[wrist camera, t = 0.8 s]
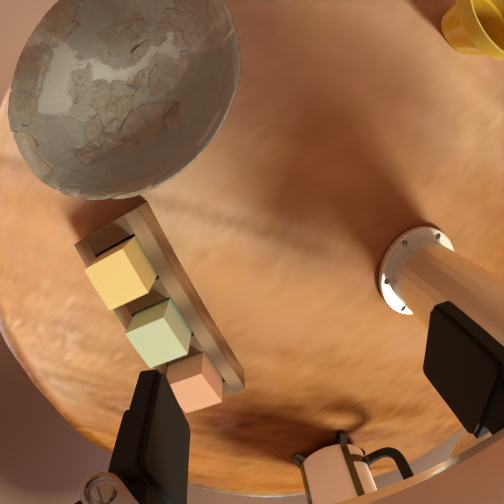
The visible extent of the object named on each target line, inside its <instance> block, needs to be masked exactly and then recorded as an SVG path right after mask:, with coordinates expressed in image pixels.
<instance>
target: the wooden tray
mask: <svg viewBox="0 0 504 504" xmlns="http://www.w3.org/2000/svg"><path fill="white" fill-rule="evenodd" d="M132 234H135V235H136V237H137V239H138V241H139V243H140V245H141V246H142V248H143V250H144V252H145V254H146V255H147V257H148V259H149V261H150V262H151V264H152V266H153V268H154V269H155V271H156V273H157V277H156V279H155V281H154V283H153V285H152V287H151V289H150V291H149V293H147V294H145V295H143V296H141V297H138V298H136V299H134V300H132V301H130V302H128V303H125V304H123V305H121V306H119V307H117V308H115V309H113V310H114V312H115V313H116V315H117V316H118V318H119V319H120V321H121V322H122V324H123V325H124V327H125V328H126V330H127V328H128V326H129V324H130V322H131V320H132V318H133V316H134V314H135V312H137V311H139V310H141V309H144V308H146V307H148V306H150V305H153V304H155V303H157V302H159V301H162V300H164V299H166V298H168V297H171V298H172V300H173V301H174V303H175V305H176V306H177V308H178V310H179V311H180V313H181V314H182V316H183V318H184V319H185V321H186V322H187V324H188V326H189V327H190V329H191V330H192V333H191V339H190V344H189V350H188V354H187V355H184V356H182V357H179V358H176V359H174V360H171V361H168V362H165V363H163V364H160V365H157V366H154V368H155V369H157V370H158V371H159V372H160V373H164V374H165V375H167V371H168V366H169V364H170V363H172V362H175V361H178V360H180V359H183V358H186V357H188V356H191V355H194V354H196V353H199V352H202V351H204V350H205V352H206V353H207V355H208V356H209V358H210V359H211V361H212V362H213V364H214V365H215V367H216V368H217V370H218V371H219V373H220V374H221V375H222V396H225V395H228V394H230V393H233V392H236V391H239V390H242V389H245V380H244V369H243V368H242V366H241V365H240V363H239V362H238V360H237V358H236V357H235V355H234V354H233V352H232V350H231V349H230V347H229V346H228V344H227V342H226V341H225V339H224V337H223V336H222V334H221V332H220V331H219V329H218V327H217V326H216V324H215V322H214V321H213V319H212V317H211V316H210V314H209V312H208V311H207V309H206V307H205V306H204V304H203V302H202V300H201V299H200V297H199V295H198V294H197V292H196V290H195V288H194V287H193V285H192V283H191V281H190V280H189V278H188V276H187V274H186V273H185V271H184V269H183V267H182V265H181V264H180V262H179V260H178V258H177V256H176V255H175V253H174V251H173V249H172V247H171V245H170V244H169V242H168V240H167V238H166V236H165V234H164V232H163V231H162V229H161V227H160V225H159V223H158V221H157V219H156V217H155V215H154V213H153V212H152V210H151V208H150V206H149V204H148V202H145V203H143V204H141V205H139V206H138V207H136V208H134V209H132V210H130V211H129V212H127V213H125V214H123V215H121V216H120V217H118V218H116V219H114V220H113V221H111V222H109V223H107V224H106V225H104V226H102V227H101V228H99V229H97V230H96V231H94V232H92V233H91V234H89V235H87V236H86V237H84V238H83V239H82V240H80V241H79V242H77V243H76V244H75V247H76V249H77V251H78V253H79V254H80V256H81V258H82V260H83V261H84V263H85V265H86V267H87V266H89V265H90V264H91V263H92V262H93V261H94V260H95V259H96V258H97V257H98V256H99V255H100V254H102V253H103V252H105V251H107V250H109V247H110V246H112V245H114V244H116V243H118V242H119V241H121V240H123V239H125V238H127V237H129V236H131V235H132Z"/></svg>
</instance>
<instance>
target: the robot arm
mask: <svg viewBox="0 0 504 504" xmlns="http://www.w3.org/2000/svg"><path fill="white" fill-rule="evenodd" d="M379 288H380V292H381V295H382V297H383V299H384V300H385V302H386V303H387V304H388V305H389V306H390V307H391V308H392V309H393V310H395V311H397V312H399V313H403V314H414V315H415V316H416V317H417V318H418V319H419V320H420V321H421V322H422V323H423V324H424V326H425V327H426V328H427V329H428V337H427V344H426V352H425V358H424V365H423V371H424V374H425V376H426V377H427V378H428V380H429V381H430V382H431V384H432V385H433V386H434V387H435V389H436V390H437V391H438V393H439V394H440V395H441V397H442V398H443V399H444V401H445V402H446V403H447V405H448V406H449V407H450V409H451V410H452V411H453V413H454V414H455V415H456V417H457V418H458V419H459V421H460V422H461V423H462V425H463V426H464V428H465V429H466V432H465V433H464V434H463V435H462V437H461V438H460V439H459V441H458V442H457V444H456V446H455V447H454V449H453V451H452V454H451V457H450V459H449V460H447V461H445V462H443V463H441V464H439V465H437V466H435V467H433V468H430V469H428V470H426V471H424V472H421V473H419V474H417V475H415V476H412V477H410V478H407V479H405V480H403V481H400V482H398V483H395V484H392V485H390V486H387V487H385V488H382V489H379V490H376V491H373V492H370V493H367V494H364V495H361V496H358V497H355V498H352V499H348V500H345V501H342V502H338V503H334V504H504V281H503V280H502V279H500V278H498V277H497V276H495V275H494V274H492V273H490V272H489V271H487V270H485V269H484V268H482V267H480V266H479V265H477V264H475V263H473V262H472V261H470V260H468V259H467V258H465V257H463V256H461V255H460V254H458V253H456V252H454V248H453V245H452V243H451V241H450V240H449V238H448V237H447V236H446V235H445V234H444V233H443V232H441V231H439V230H438V229H435V228H433V227H428V226H420V227H416V228H412V229H410V230H408V231H406V232H404V233H403V234H402V235H400V236H399V237H398V238H397V239H396V240H395V241H394V242H393V243H392V244H391V246H390V247H389V249H388V250H387V252H386V254H385V256H384V258H383V260H382V263H381V266H380V270H379ZM189 445H190V427H189V424H188V422H187V420H186V418H185V416H184V414H183V412H182V410H181V408H180V405H179V403H178V401H177V399H176V397H175V395H174V393H173V390H172V388H171V386H170V384H169V381H168V379H167V377H166V375H165V374H164V373H160V372H159V371H158V370H157V369H155V370H147V371H141V372H140V375H139V378H138V381H137V385H136V388H135V392H134V395H133V398H132V402H131V406H130V409H129V410H126V411H125V413H124V415H123V418H122V421H121V425H120V428H119V432H118V436H117V439H116V443H115V447H114V451H113V454H112V458H111V462H110V466H109V470H108V472H97V473H95V474H92V475H90V476H89V477H88V478H86V479H85V481H84V482H83V483H82V485H81V487H80V493H79V495H80V499H81V500H80V501H78V502H77V503H75V504H187V482H188V462H189Z"/></svg>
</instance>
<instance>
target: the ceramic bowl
mask: <svg viewBox="0 0 504 504" xmlns="http://www.w3.org/2000/svg"><path fill="white" fill-rule="evenodd" d="M239 76H240V51H239V42H238V34H237V30H236V29H234V23H233V19H232V16H231V13H230V11H229V9H228V7H227V5H226V4H225V2H224V1H223V0H59V1H58V2H57V3H56V4H55V5H54V6H53V7H52V8H51V9H50V10H49V11H48V12H47V13H46V14H45V16H44V17H43V18H42V20H41V21H40V23H39V24H38V25H37V27H36V28H35V30H34V32H33V33H32V35H31V36H30V37H29V39H28V41H27V43H26V45H25V47H24V49H23V51H22V53H21V56H20V58H19V60H18V63H17V66H16V70H15V73H14V77H13V81H12V86H11V89H12V91H11V93H10V97H9V107H8V118H9V124H10V129H11V131H12V132H16V133H15V134H14V139H15V141H16V144H17V146H18V148H19V151H20V153H21V154H22V157H23V158H24V160H25V162H26V164H27V165H28V167H29V168H30V169H31V170H32V172H33V173H34V174H35V175H36V176H37V177H38V178H39V179H40V180H41V181H42V182H44V183H45V184H47V185H48V186H50V187H52V188H53V189H58V190H60V191H61V193H63V194H65V195H68V196H71V197H75V198H83V199H86V200H104V199H107V198H112V199H124V198H130V197H135V196H137V195H140V194H142V193H145V192H147V191H149V190H154V189H155V188H157V187H159V186H160V185H162V184H164V183H165V182H167V181H168V180H170V179H172V178H173V177H175V176H176V175H177V174H179V173H180V172H181V171H183V170H184V169H186V168H187V167H188V166H189V165H190V164H191V163H192V162H193V161H194V160H195V159H196V158H197V157H198V156H199V155H200V153H201V152H202V151H203V150H204V149H205V148H206V146H207V145H208V144H209V143H210V142H211V140H212V139H213V137H214V136H215V135H216V133H217V132H218V130H219V129H220V127H221V126H222V124H223V122H224V120H225V118H226V116H227V114H228V112H229V109H230V106H231V104H232V101H233V99H234V96H235V93H236V90H237V86H238V83H239Z"/></svg>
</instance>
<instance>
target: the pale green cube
mask: <svg viewBox="0 0 504 504" xmlns="http://www.w3.org/2000/svg"><path fill="white" fill-rule="evenodd" d="M191 333H192V330H191V329H190V327H189V326H188V324H187V322H186V321H185V319H184V318H183V316H182V314H181V313H180V311H179V310H178V308H177V306H176V305H175V303H174V301H173V300H172V298H171V297H168V298H166V299H164V300H162V301H159V302H157V303H155V304H153V305H150V306H148V307H146V308H144V309H141V310H139V311H137V312H135V314H134V316H133V318H132V320H131V322H130V324H129V326H128V328H127V330H126V332H125V335H126V336H127V338H128V339H129V340H130V342H131V343H132V345H133V346H134V347H135V349H136V350H137V352H138V353H139V354H140V356H141V357H142V358H143V360H144V361H145V362H146V364H147V365H148V366H149V368H152V367H154V366H157V365H160V364H163V363H165V362H168V361H171V360H174V359H176V358H179V357H182V356H184V355H187V354H188V350H189V344H190V339H191Z"/></svg>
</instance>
